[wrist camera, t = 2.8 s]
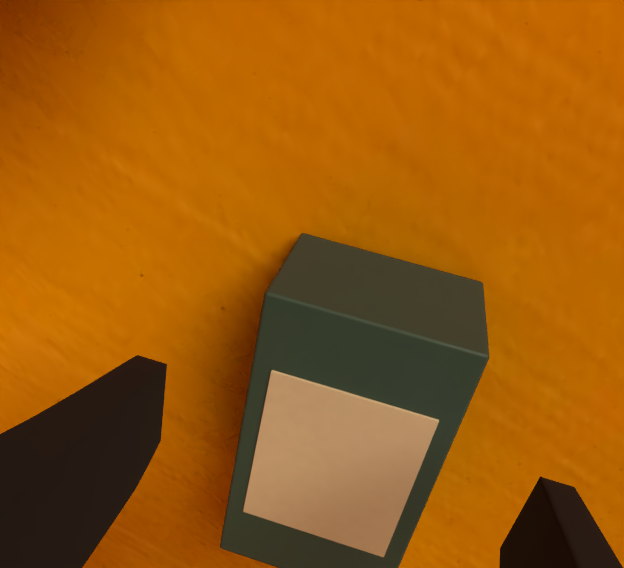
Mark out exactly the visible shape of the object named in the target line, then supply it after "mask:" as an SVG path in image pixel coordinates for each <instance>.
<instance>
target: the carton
mask: <svg viewBox="0 0 624 568" xmlns="http://www.w3.org/2000/svg"><path fill="white" fill-rule="evenodd" d="M488 359H489V349H488V337H487V325H486V314H485V302H484V290H483V283H482V282H479V281H476V280H472V279H468V278H465V277H461V276H457V275H454V274H450V273H447V272H443V271H439V270H436V269H432V268H428V267H425V266H421V265H417V264H414V263H410V262H406V261H403V260H399V259H395V258H392V257H388V256H385V255H381V254H377V253H374V252H370V251H366V250H363V249H359V248H355V247H352V246H348V245H344V244H341V243H337V242H333V241H330V240H326V239H322V238H319V237H315V236H312V235H308V234H301V235H300V236H299V238H298V240H297V241H296V243H295V245H294V246H293V248H292V250H291V251H290V253H289V255H288V256H287V258H286V259H285V261H284V263H283V264H282V266H281V268H280V269H279V271H278V273H277V274H276V276H275V277H274V279H273V281H272V282H271V284H270V286H269V287H268V289H267V291H266V292H265V295H264V300H263V306H262V312H261V317H260V323H259V329H258V334H257V340H256V345H255V351H254V357H253V362H252V368H251V374H250V379H249V385H248V390H247V396H246V402H245V407H244V413H243V419H242V424H241V430H240V435H239V441H238V447H237V452H236V458H235V464H234V469H233V475H232V480H231V486H230V492H229V497H228V503H227V509H226V514H225V520H224V525H223V531H222V537H221V542H220V547H221V548H222V549H224V550H227V551H230V552H233V553H236V554H239V555H242V556H245V557H248V558H251V559H254V560H257V561H260V562H263V563H266V564H269V565H272V566H275V567H278V568H398V567H399V565H400V562H401V560H402V558H403V555H404V553H405V551H406V548H407V546H408V544H409V542H410V539H411V537H412V535H413V532H414V530H415V528H416V525H417V523H418V521H419V519H420V516H421V514H422V512H423V509H424V507H425V505H426V502H427V500H428V498H429V495H430V493H431V491H432V489H433V486H434V484H435V482H436V479H437V477H438V475H439V472H440V470H441V468H442V465H443V463H444V461H445V459H446V456H447V454H448V452H449V449H450V447H451V445H452V442H453V440H454V438H455V436H456V433H457V431H458V429H459V426H460V424H461V422H462V419H463V417H464V415H465V412H466V410H467V408H468V406H469V403H470V401H471V399H472V396H473V394H474V392H475V389H476V387H477V385H478V383H479V380H480V378H481V376H482V373H483V371H484V369H485V366H486V364H487V362H488Z"/></svg>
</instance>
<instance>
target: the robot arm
mask: <svg viewBox="0 0 624 568" xmlns="http://www.w3.org/2000/svg"><path fill="white" fill-rule="evenodd" d="M166 368H167V364H165V363H161V362H158V361H155V360H151V359H148V358H145V357H141V356H138V355H137V356H135V357H133V358H132V359H130V360H128V361H126V362H125V363H123V364H121V365H120V366H118V367H117V368H115V369H113V370H112V371H110V372H108V373H107V374H105V375H103V376H102V377H100V378H99V379H97V380H95V381H94V382H92V383H90V384H89V385H87V386H85V387H84V388H82V389H80V390H79V391H77V392H76V393H74V394H72V395H70V396H69V397H67V398H65V399H63V400H62V401H60V402H58V403H57V404H55V405H53V406H51V407H50V408H48V409H46V410H44V411H43V412H41V413H39V414H37V415H36V416H34V417H32V418H30V419H28V420H26V421H25V422H23V423H21V424H19V425H17V426H15V427H13V428H11V429H9V430H7V431H5V432H3V433H2V434H0V568H82V567H83V566H84V564H85V563H86V561H87V560H88V558H89V557H90V556H91V554H92V553H93V551H94V550H95V548H96V547H97V545H98V544H99V542H100V541H101V539H102V538H103V536H104V535H105V533H106V532H107V531H108V529H109V528H110V526H111V525H112V523H113V522H114V520H115V519H116V517H117V516H118V514H119V513H120V511H121V510H122V508H123V507H124V505H125V504H126V502H127V501H128V499H129V498H130V496H131V495H132V493H133V492H134V490H135V489H136V487H137V485H138V483H139V482H140V480H141V478H142V476H143V474H144V472H145V470H146V468H147V466H148V464H149V462H150V460H151V458H152V457H153V455H154V453H155V451H156V449H157V447H158V445H159V443H160V441H161V429H162V416H163V404H164V392H165V380H166ZM500 568H623V567H622V565H621V564H620V562H619V561H618V559H617V557H616V556H615V554H614V552H613V551H612V549H611V547H610V546H609V544H608V542H607V541H606V539H605V537H604V536H603V534H602V532H601V531H600V529H599V527H598V526H597V524H596V522H595V520H594V519H593V517H592V515H591V514H590V512H589V510H588V509H587V507H586V505H585V504H584V502H583V500H582V499H581V497H580V496H579V494H578V492H577V491H576V489H575V488H574V487H572V486H569V485H565V484H562V483H559V482H556V481H552V480H549V479H546V478H542V477H540V478H539V480H538V482H537V484H536V485H535V487H534V489H533V491H532V493H531V494H530V496H529V498H528V500H527V501H526V503H525V505H524V507H523V509H522V510H521V512H520V514H519V516H518V517H517V519H516V521H515V523H514V525H513V526H512V528H511V530H510V532H509V533H508V535H507V537H506V539H505V541H504V542H503V544H502V546H501V548H500Z"/></svg>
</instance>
